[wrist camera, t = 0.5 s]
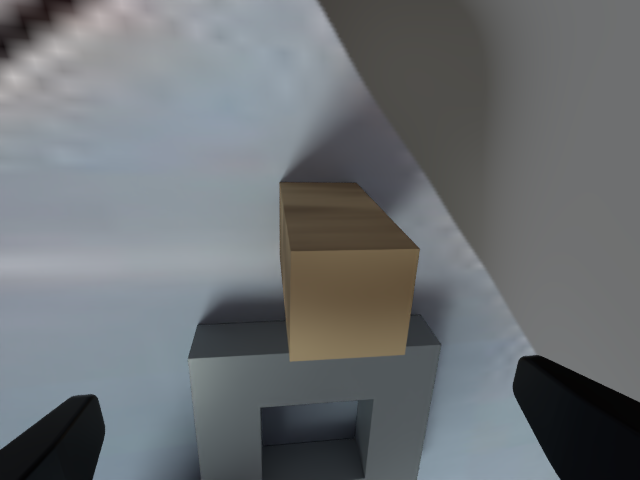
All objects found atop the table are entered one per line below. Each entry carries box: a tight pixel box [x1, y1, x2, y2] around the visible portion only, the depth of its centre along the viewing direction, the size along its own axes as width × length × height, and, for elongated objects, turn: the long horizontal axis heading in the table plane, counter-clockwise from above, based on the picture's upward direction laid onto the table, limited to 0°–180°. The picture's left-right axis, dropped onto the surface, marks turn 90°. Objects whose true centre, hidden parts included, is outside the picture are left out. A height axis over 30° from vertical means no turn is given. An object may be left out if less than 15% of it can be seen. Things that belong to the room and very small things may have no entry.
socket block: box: [188, 315, 441, 480], centre depth 24 cm, size 13×13×3 cm
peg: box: [280, 182, 420, 362], centre depth 16 cm, size 4×4×9 cm
